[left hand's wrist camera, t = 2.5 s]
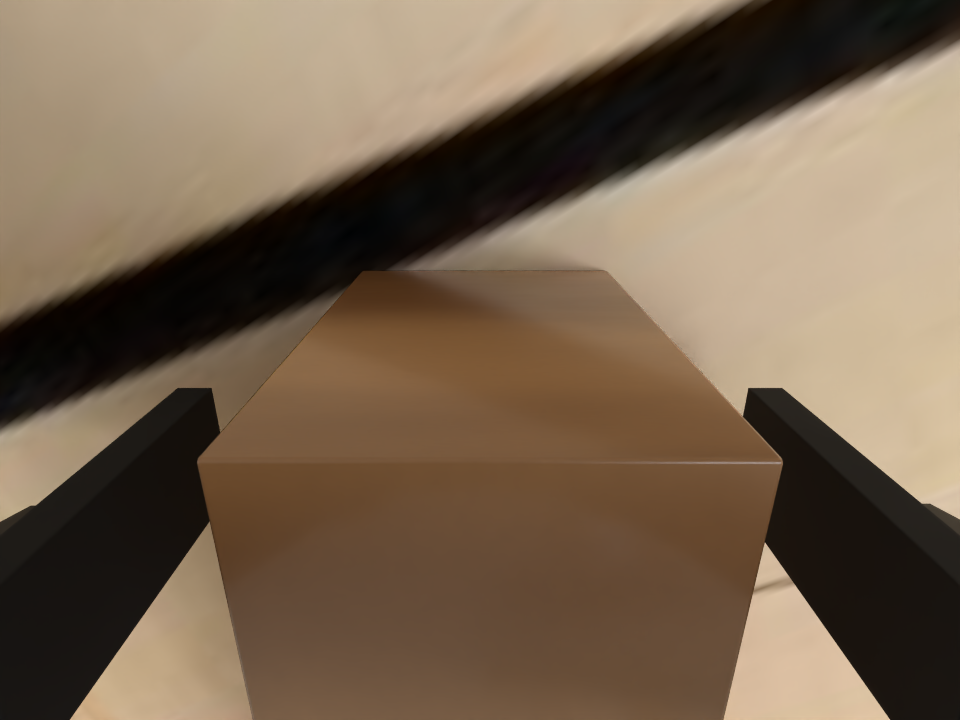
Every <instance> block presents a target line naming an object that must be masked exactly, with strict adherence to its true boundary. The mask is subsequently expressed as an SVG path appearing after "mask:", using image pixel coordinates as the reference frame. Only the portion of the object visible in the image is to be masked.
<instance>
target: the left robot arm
mask: <svg viewBox="0 0 960 720" xmlns="http://www.w3.org/2000/svg"><path fill="white" fill-rule="evenodd" d="M743 417H744V419H745V420H746V421H747V422H748V423H749V424H750V425H751V426H752V427H753V428H754V429H755V430H756V431H757V432H758V433H759V435H760V436H761V437H762V438H763V439H764V440H765V441H766V442H767V443H768V444H769V445H770V446H771V447H772V448H773V450H774V451H775V452H776V453H777V454H778V455H779V456H780V457H781V458H782V461H783V465H782V470H781V474H780V478H779V483H778V487H777V491H776V496H775V500H774V504H773V508H772V513H771V517H770V521H769V526H768V530H767V534H766V538H765V543H766V544H767V546H768V547H769V548H770V550H771V551H772V553H773V554H774V555H775V557H776V558H777V560H778V561H779V563H780V564H781V565H782V567H783V568H784V570H785V571H786V573H787V574H788V575H789V577H790V578H791V580H792V581H793V582H794V584H795V585H796V587H797V588H798V590H799V591H800V592H801V594H802V595H803V597H804V598H805V599H806V601H807V602H808V604H809V605H810V607H811V608H812V609H813V611H814V612H815V614H816V615H817V616H818V618H819V619H820V621H821V622H822V624H823V625H824V626H825V628H826V629H827V631H828V632H829V634H830V635H831V636H832V638H833V639H834V641H835V642H836V643H837V645H838V646H839V648H840V649H841V651H842V652H843V653H844V655H845V656H846V658H847V659H848V660H849V662H850V663H851V665H852V666H853V668H854V669H855V670H856V672H857V673H858V675H859V676H860V677H861V679H862V680H863V682H864V683H865V685H866V686H867V687H868V689H869V690H870V692H871V693H872V694H873V696H874V697H875V699H876V700H877V702H878V703H879V704H880V706H881V707H882V709H883V710H884V712H885V713H886V714H887V716H888V717H889V719H890V720H960V519H958V518H956V517H954V516H952V515H950V514H948V513H946V512H944V511H943V510H941V509H939V508H937V507H935V506H933V505H931V504H921V503H920V502H919V501H918V500H917V499H915V498H914V497H913V496H912V495H911V494H909V493H908V492H907V491H906V490H905V489H903V488H902V487H901V486H900V485H899V484H897V483H896V482H895V481H894V480H892V479H891V478H890V477H889V476H888V475H886V474H885V473H884V472H883V471H882V470H880V469H879V468H878V467H877V466H876V465H874V464H873V463H872V462H871V461H870V460H868V459H867V458H866V457H865V456H864V455H862V454H861V453H860V452H859V451H857V450H856V449H855V448H854V447H853V446H851V445H850V444H849V443H848V442H847V441H845V440H844V439H843V438H842V437H841V436H839V435H838V434H837V433H836V432H835V431H833V430H832V429H831V428H830V427H829V426H827V425H826V424H825V423H824V422H822V421H821V420H820V419H819V418H818V417H816V416H815V415H814V414H813V413H812V412H810V411H809V410H808V409H807V408H806V407H804V406H803V405H802V404H801V403H800V402H798V401H797V400H796V399H795V398H793V397H792V396H791V395H790V394H789V393H787V392H786V391H785V390H784V389H783V388H748V393H747V398H746V404H745V409H744V414H743ZM219 434H220V429H219V424H218V419H217V414H216V409H215V403H214V398H213V393H212V388H177V389H176V390H175V391H174V392H173V393H171V394H170V395H169V396H168V397H167V398H165V399H164V400H163V401H162V402H160V403H159V404H158V405H157V406H156V407H154V408H153V409H152V410H151V411H150V412H148V413H147V414H146V415H145V416H144V417H142V418H141V419H140V420H139V421H138V422H136V423H135V424H134V425H133V426H132V427H130V428H129V429H128V430H127V431H125V432H124V433H123V434H122V435H121V436H119V437H118V438H117V439H116V440H115V441H113V442H112V443H111V444H110V445H109V446H107V447H106V448H105V449H104V450H103V451H101V452H100V453H99V454H98V455H97V456H95V457H94V458H93V459H92V460H90V461H89V462H88V463H87V464H86V465H84V466H83V467H82V468H81V469H80V470H78V471H77V472H76V473H75V474H74V475H72V476H71V477H70V478H69V479H68V480H66V481H65V482H64V483H63V484H62V485H60V486H59V487H58V488H57V489H55V490H54V491H53V492H52V493H51V494H49V495H48V496H47V497H46V498H45V499H43V500H42V501H41V502H40V503H39V504H37V505H36V506H29V507H27V508H26V509H24V510H22V511H20V512H18V513H16V514H14V515H12V516H11V517H9V518H7V519H5V520H3V521H1V522H0V720H70V719H71V717H72V716H73V714H74V713H75V712H76V710H77V709H78V707H79V706H80V704H81V703H82V702H83V700H84V699H85V697H86V696H87V695H88V693H89V692H90V690H91V689H92V687H93V686H94V685H95V683H96V682H97V680H98V679H99V677H100V676H101V675H102V673H103V672H104V670H105V669H106V668H107V666H108V665H109V663H110V662H111V660H112V659H113V658H114V656H115V655H116V653H117V652H118V651H119V649H120V648H121V646H122V645H123V643H124V642H125V641H126V639H127V638H128V636H129V635H130V634H131V632H132V631H133V629H134V628H135V626H136V625H137V624H138V622H139V621H140V619H141V618H142V617H143V615H144V614H145V612H146V611H147V609H148V608H149V607H150V605H151V604H152V602H153V601H154V599H155V598H156V597H157V595H158V594H159V592H160V591H161V590H162V588H163V587H164V585H165V584H166V582H167V581H168V580H169V578H170V577H171V575H172V574H173V573H174V571H175V570H176V568H177V567H178V565H179V564H180V563H181V561H182V560H183V558H184V557H185V556H186V554H187V553H188V551H189V550H190V548H191V547H192V546H193V544H194V543H195V541H196V540H197V539H198V537H199V536H200V534H201V533H202V531H203V530H204V529H205V527H206V526H207V524H208V523H209V521H210V520H209V515H208V511H207V506H206V501H205V497H204V492H203V488H202V483H201V478H200V474H199V469H198V465H197V461H198V458H199V456H200V455H201V454H202V453H203V452H204V451H205V450H206V449H207V447H208V446H209V445H210V444H211V443H212V442H213V441H214V439H215V438H216V437H217V436H218V435H219Z"/></svg>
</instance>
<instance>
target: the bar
mask: <svg viewBox="0 0 960 720" xmlns="http://www.w3.org/2000/svg"><path fill="white" fill-rule="evenodd" d="M197 465H198V469H199V474H200V478H201V483H202V488H203V492H204V497H205V501H206V506H207V511H208V515H209V520H210V524H211V529H212V534H213V538H214V543H215V547H216V552H217V557H218V561H219V566H220V571H221V575H222V580H223V584H224V589H225V594H226V598H227V603H228V607H229V612H230V617H231V621H232V626H233V630H234V635H235V640H236V644H237V649H238V653H239V658H240V663H241V667H242V672H243V676H244V681H245V686H246V690H247V695H248V699H249V704H250V709H251V713H252V718H253V720H723V719H724V715H725V710H726V706H727V702H728V697H729V693H730V689H731V685H732V680H733V676H734V672H735V667H736V663H737V659H738V654H739V650H740V646H741V642H742V637H743V633H744V629H745V624H746V620H747V616H748V612H749V607H750V603H751V599H752V594H753V590H754V586H755V581H756V577H757V573H758V569H759V564H760V560H761V556H762V551H763V547H764V543H765V538H766V534H767V530H768V526H769V521H770V517H771V513H772V508H773V504H774V500H775V496H776V491H777V487H778V483H779V478H780V474H781V470H782V465H783V461H782V458H781V457H780V456H779V455H778V454H777V453H776V452H775V451H774V450H773V448H772V447H771V446H770V445H769V444H768V443H767V442H766V441H765V440H764V439H763V438H762V437H761V436H760V435H759V433H758V432H757V431H756V430H755V429H754V428H753V427H752V426H751V425H750V424H749V423H748V422H747V421H746V420H745V419H744V417H743V416H742V415H741V414H740V413H739V412H738V411H737V410H736V409H735V408H734V407H733V406H732V405H731V404H730V402H729V401H728V400H727V399H726V398H725V397H724V396H723V395H722V394H721V393H720V392H719V391H718V390H717V389H716V387H715V386H714V385H713V384H712V383H711V382H710V381H709V380H708V379H707V378H706V377H705V376H704V375H703V374H702V372H701V371H700V370H699V369H698V368H697V367H696V366H695V365H694V364H693V363H692V362H691V361H690V360H689V359H688V357H687V356H686V355H685V354H684V353H683V352H682V351H681V350H680V349H679V348H678V347H677V346H676V345H675V344H674V342H673V341H672V340H671V339H670V338H669V337H668V336H667V335H666V334H665V333H664V332H663V331H662V330H661V329H660V327H659V326H658V325H657V324H656V323H655V322H654V321H653V320H652V319H651V318H650V317H649V316H648V315H647V314H646V313H645V311H644V310H643V309H642V308H641V307H640V306H639V305H638V304H637V303H636V302H635V301H634V300H633V299H632V298H631V296H630V295H629V294H628V293H627V292H626V291H625V290H624V289H623V288H622V287H621V286H620V285H619V284H618V283H617V281H616V280H615V279H614V278H613V277H612V276H611V275H610V274H609V273H608V272H607V271H362V272H361V273H360V275H359V276H358V277H357V278H356V279H355V280H354V281H353V283H352V284H351V285H350V286H349V287H348V288H347V289H346V290H345V292H344V293H343V294H342V295H341V296H340V297H339V298H338V300H337V301H336V302H335V303H334V304H333V305H332V306H331V308H330V309H329V310H328V311H327V312H326V313H325V314H324V316H323V317H322V318H321V319H320V320H319V321H318V322H317V323H316V325H315V326H314V327H313V328H312V329H311V330H310V331H309V333H308V334H307V335H306V336H305V337H304V338H303V339H302V341H301V342H300V343H299V344H298V345H297V346H296V347H295V348H294V350H293V351H292V352H291V353H290V354H289V355H288V356H287V358H286V359H285V360H284V361H283V362H282V363H281V364H280V366H279V367H278V368H277V369H276V370H275V371H274V372H273V373H272V375H271V376H270V377H269V378H268V379H267V380H266V381H265V383H264V384H263V385H262V386H261V387H260V388H259V389H258V391H257V392H256V393H255V394H254V395H253V396H252V397H251V398H250V400H249V401H248V402H247V403H246V404H245V405H244V406H243V408H242V409H241V410H240V411H239V412H238V413H237V414H236V416H235V417H234V418H233V419H232V420H231V421H230V422H229V424H228V425H227V426H226V427H225V428H224V429H223V430H222V431H221V433H220V434H219V435H218V436H217V437H216V438H215V439H214V441H213V442H212V443H211V444H210V445H209V446H208V447H207V449H206V450H205V451H204V452H203V453H202V454H201V455H200V456H199V458H198V461H197Z"/></svg>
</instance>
